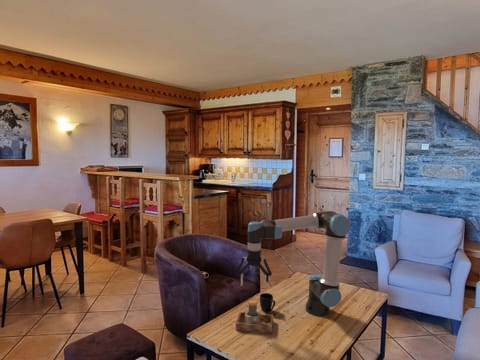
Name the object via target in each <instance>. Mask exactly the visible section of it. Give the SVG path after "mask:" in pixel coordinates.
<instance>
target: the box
mask: <svg viewBox="0 0 480 360" xmlns="http://www.w3.org/2000/svg"><path fill="white" fill-rule="evenodd" d="M273 323H274V314H267V313H261V310H257V312H256V316H249V309H246V310H245V311H239V313H238V316H237V318H236V322H235V331H240V332H241V331H242V332H249V333H260V334H268V335H272V333H273V327H274V326H273Z"/></svg>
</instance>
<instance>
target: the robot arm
mask: <svg viewBox="0 0 480 360" xmlns="http://www.w3.org/2000/svg"><path fill="white" fill-rule="evenodd" d="M310 228H314V229H324V230H325V233H324V236H325V237H326V245H325V254H324V261H323V262H324V263H323V270H322V273H312V274H310V275H309V278H308V298H307V301H306V303H305V307H304V308H305V311H306V312H307V313H308V314H310V315H314V316H318V317H322V316H323V317H324V316H328V315H330V313H331V308H334V307H336V306H337V305H339V304H340V302H341V300H342V294H341V291H340V282H339V280H338V277H339V269H340V262H341V254H342V245H343V241H344V240H345V239H346V237H347V234H349V232H350V230H351V222H350V219H349V218H348V217H347V216H345V215H344V214H342V213H338V212H335V211H332V210H328V211H327V210H325V211H321V212H313V213H312V214H309V215H302V216H294V217H289V218H288V217H287V218H281V219H274V220H273V219H272V220H267V219H263V220H261V221H250V222H249V223H248V225H247V257H246V256H243V255H242V256H241V261H240V263H239V265H238V267H237V269H236V270H235V271H236V272H235V273H236V274H238V279H239V280H240V287H243V284H244V282H243V281H244V272H245V270H247V268H249V266H251V267H257V266H258V268H259V269H260V270H261V271H262V272H263V274H264V288H265V289H266V288H267V283H268V282H269V277H270V276H272V273H273V272H272V270H271V268H270V266H269V264H268V262H267V258H266V257H264V258H262V256H261V255H262V250H261V249H262V240H273V239H274V240H278V239H282V237H283V232H288V231H296V230H303V229H310ZM244 262H246V264H245V265H244V266H243V264H244ZM261 262H262V263H264V266H265V267H264V266H263V265H262V263H261ZM242 266H243V267H242Z"/></svg>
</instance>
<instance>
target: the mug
mask: <svg viewBox="0 0 480 360" xmlns="http://www.w3.org/2000/svg"><path fill="white" fill-rule="evenodd" d="M259 304H260V309H261V312H263V313H271V312H272V311H273V309H274V308H275V306H276V300H274V296H273V294H271V293H270V292H264V293H263V292H262V293H261V294H259Z"/></svg>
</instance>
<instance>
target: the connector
mask: <svg viewBox="0 0 480 360" xmlns="http://www.w3.org/2000/svg"><path fill="white" fill-rule="evenodd" d="M257 304H258V302H257V300H255V299H249V301H248V310H249V316H256V312H257V311H258V310H257V306H258V305H257Z"/></svg>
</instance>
